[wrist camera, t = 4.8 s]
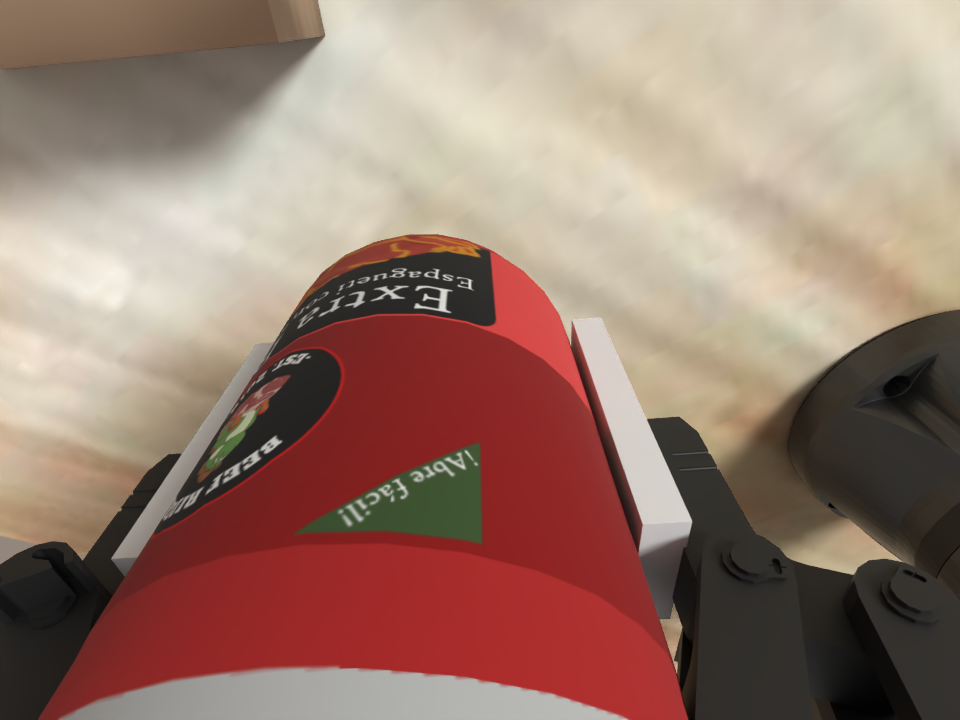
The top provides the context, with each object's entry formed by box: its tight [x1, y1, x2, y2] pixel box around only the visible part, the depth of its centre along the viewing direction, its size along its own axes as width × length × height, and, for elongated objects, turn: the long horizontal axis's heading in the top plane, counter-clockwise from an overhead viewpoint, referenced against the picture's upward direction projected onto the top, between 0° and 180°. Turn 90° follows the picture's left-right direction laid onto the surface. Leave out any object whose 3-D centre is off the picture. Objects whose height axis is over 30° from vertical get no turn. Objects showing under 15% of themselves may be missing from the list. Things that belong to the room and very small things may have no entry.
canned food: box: [38, 234, 689, 720], centre depth 10 cm, size 8×8×11 cm
